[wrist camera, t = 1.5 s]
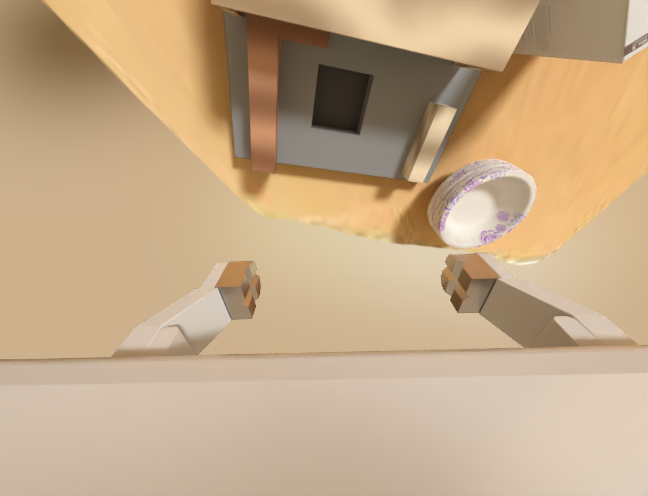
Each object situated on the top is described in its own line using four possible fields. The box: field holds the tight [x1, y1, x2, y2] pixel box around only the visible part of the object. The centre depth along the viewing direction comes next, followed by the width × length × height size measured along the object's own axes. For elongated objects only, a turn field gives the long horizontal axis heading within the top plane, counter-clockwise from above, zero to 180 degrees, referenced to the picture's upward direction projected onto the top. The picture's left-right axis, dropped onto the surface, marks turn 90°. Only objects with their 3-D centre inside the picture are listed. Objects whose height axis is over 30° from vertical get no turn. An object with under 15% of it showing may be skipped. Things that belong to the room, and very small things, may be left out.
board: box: [223, 10, 482, 183], centre depth 29 cm, size 26×31×2 cm
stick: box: [401, 102, 457, 183], centre depth 33 cm, size 10×2×3 cm, turn 171°
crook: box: [246, 13, 330, 173], centre depth 28 cm, size 16×8×4 cm, turn 171°
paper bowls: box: [427, 159, 536, 249], centre depth 40 cm, size 15×15×8 cm
